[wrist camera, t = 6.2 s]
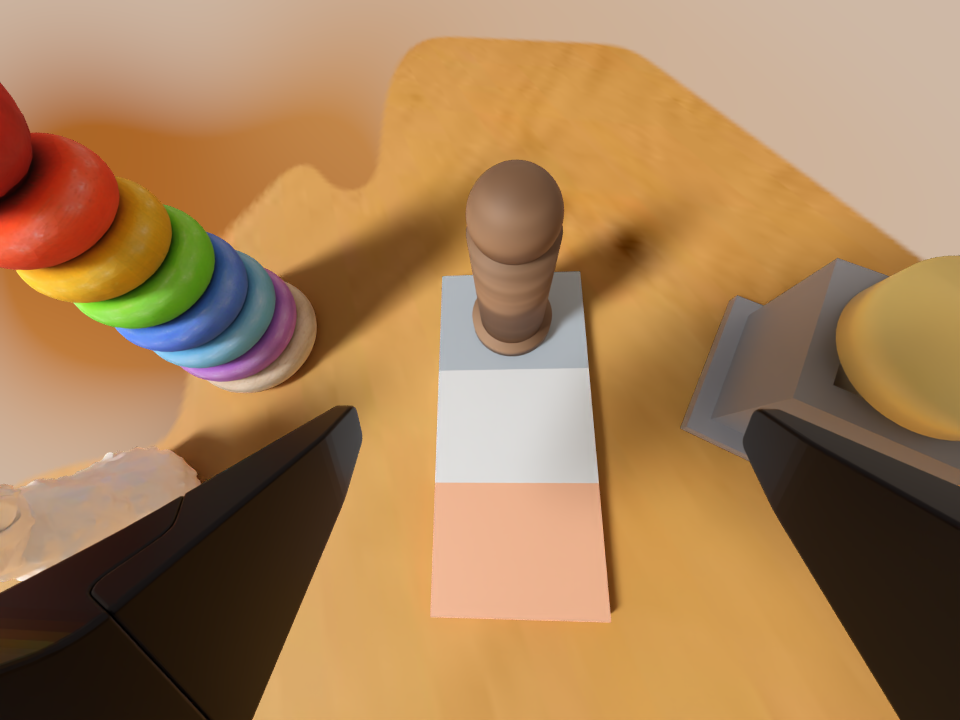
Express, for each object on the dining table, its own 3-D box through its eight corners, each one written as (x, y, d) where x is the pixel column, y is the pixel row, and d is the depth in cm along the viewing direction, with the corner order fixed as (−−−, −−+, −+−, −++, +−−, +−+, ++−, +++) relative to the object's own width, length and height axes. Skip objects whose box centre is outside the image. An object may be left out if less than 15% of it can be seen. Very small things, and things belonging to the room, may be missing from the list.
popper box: (848, 507, 19) (1027, 527, 13) (680, 428, 21) (759, 408, 14) (885, 362, 21) (1057, 313, 15) (729, 301, 23) (819, 232, 16)
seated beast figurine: (64, 602, 21) (-471, 760, 9) (110, 447, 23) (-271, 425, 12) (220, 608, 20) (-155, 788, 9) (250, 448, 23) (-11, 426, 11)
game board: (606, 616, 19) (611, 622, 18) (433, 611, 19) (430, 616, 19) (577, 277, 24) (580, 271, 24) (444, 282, 25) (442, 276, 24)
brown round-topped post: (522, 371, 22) (538, 268, 11) (458, 330, 23) (412, 198, 12) (564, 310, 23) (618, 157, 12) (501, 273, 24) (495, 101, 13)
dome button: (863, 473, 18) (1094, 475, 11) (730, 413, 19) (860, 379, 12) (891, 361, 19) (1112, 299, 12) (766, 312, 21) (901, 230, 14)
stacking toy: (307, 400, 23) (-354, 170, 5) (192, 390, 24) (-714, 160, 6) (333, 289, 26) (-75, -135, 8) (227, 283, 26) (-366, -114, 8)
